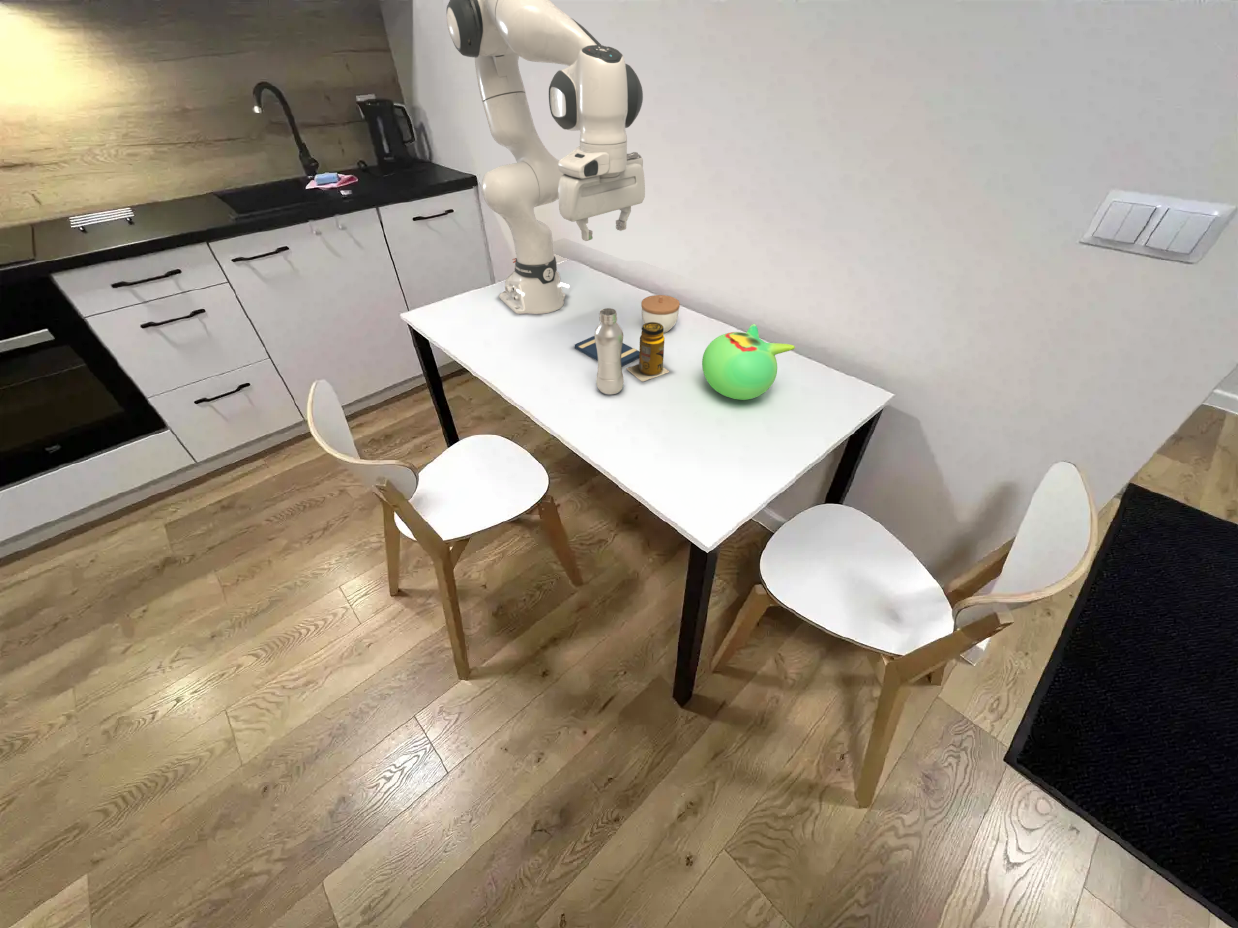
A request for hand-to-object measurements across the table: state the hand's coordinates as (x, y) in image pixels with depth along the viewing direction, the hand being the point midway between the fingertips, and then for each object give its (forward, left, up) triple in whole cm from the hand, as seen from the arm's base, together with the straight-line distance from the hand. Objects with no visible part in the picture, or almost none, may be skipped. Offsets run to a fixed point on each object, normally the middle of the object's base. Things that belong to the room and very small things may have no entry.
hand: (604, 234), depth 103 cm
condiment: (+7, +7, -33) cm, 35 cm away
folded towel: (-7, +6, -33) cm, 34 cm away
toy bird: (+28, +16, -33) cm, 46 cm away
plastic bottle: (+7, -5, -33) cm, 34 cm away
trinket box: (-7, +26, -33) cm, 43 cm away
